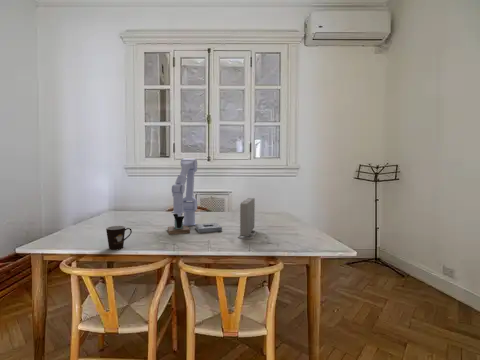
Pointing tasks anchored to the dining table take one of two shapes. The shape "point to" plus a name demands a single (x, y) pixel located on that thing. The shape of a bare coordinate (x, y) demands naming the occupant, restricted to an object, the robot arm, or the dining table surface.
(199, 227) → the port plate
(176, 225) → the plug
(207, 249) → the dining table surface
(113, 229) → the coffee mug
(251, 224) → the network device
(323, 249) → the dining table surface
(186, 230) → the brown square frame
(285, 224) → the dining table surface
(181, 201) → the robot arm
